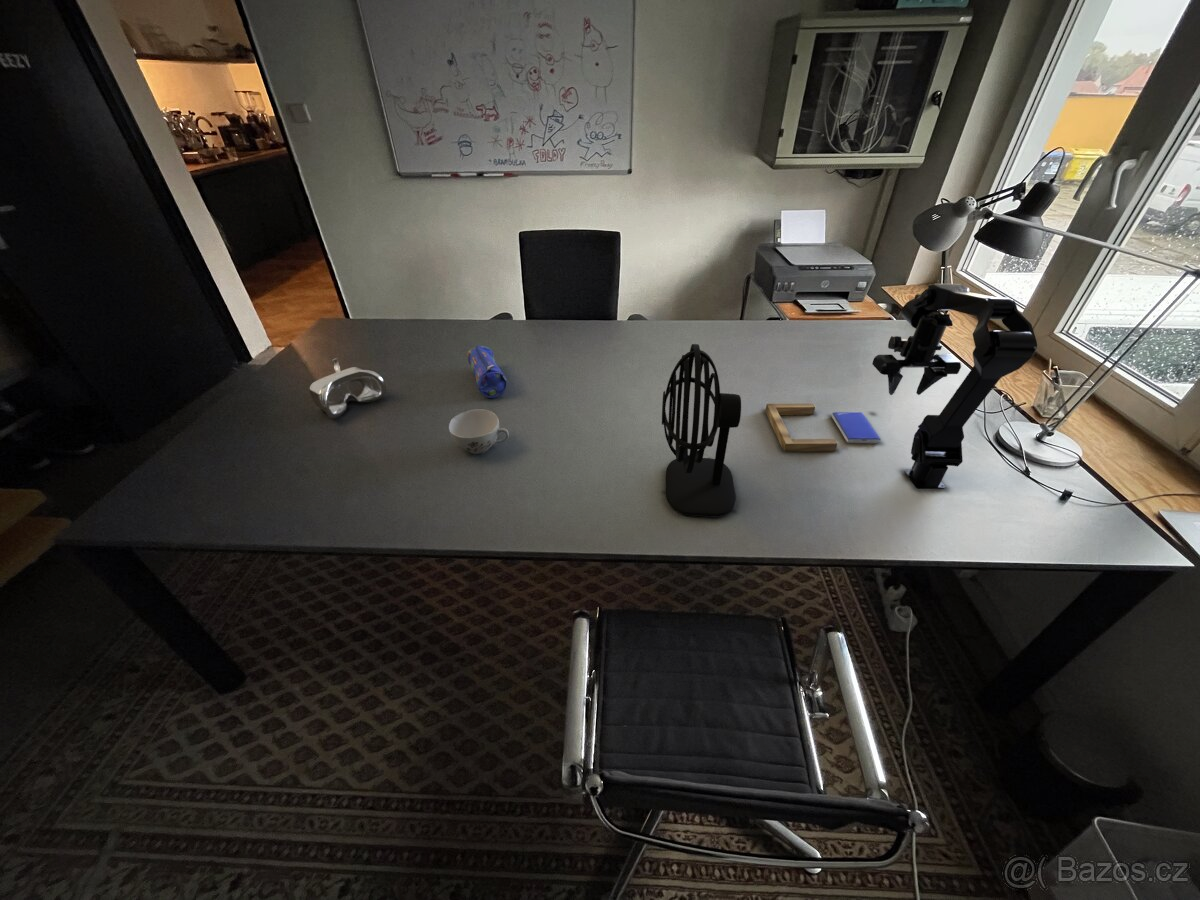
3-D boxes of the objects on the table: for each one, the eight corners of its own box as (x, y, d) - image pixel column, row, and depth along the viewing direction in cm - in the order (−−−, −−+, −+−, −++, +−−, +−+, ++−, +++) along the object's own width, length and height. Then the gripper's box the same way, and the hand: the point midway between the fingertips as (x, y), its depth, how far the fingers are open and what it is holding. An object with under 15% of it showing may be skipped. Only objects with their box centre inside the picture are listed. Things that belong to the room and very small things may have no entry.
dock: (835, 451, 128) (837, 443, 126) (783, 451, 128) (785, 443, 127) (811, 410, 143) (813, 403, 141) (765, 411, 143) (766, 403, 142)
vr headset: (332, 425, 141) (313, 380, 132) (313, 411, 147) (294, 367, 138) (390, 399, 152) (376, 355, 143) (371, 387, 158) (356, 344, 149)
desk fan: (658, 450, 129) (666, 321, 108) (727, 454, 128) (749, 323, 106) (656, 526, 108) (666, 384, 87) (739, 532, 106) (770, 387, 85)
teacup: (446, 459, 128) (439, 434, 123) (465, 431, 137) (459, 407, 133) (502, 465, 125) (498, 439, 121) (518, 436, 135) (514, 411, 130)
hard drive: (832, 412, 139) (848, 438, 129) (862, 412, 139) (881, 438, 129) (831, 416, 140) (847, 443, 130) (861, 416, 140) (879, 443, 130)
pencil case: (510, 397, 152) (505, 368, 146) (481, 403, 149) (476, 374, 143) (494, 365, 168) (490, 338, 162) (468, 370, 166) (463, 343, 160)
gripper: (948, 323, 125) (925, 378, 135) (872, 323, 126) (854, 379, 135) (974, 342, 116) (947, 400, 126) (893, 343, 117) (872, 400, 126)
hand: (904, 394), depth 128 cm, fingers open, 7 cm apart
